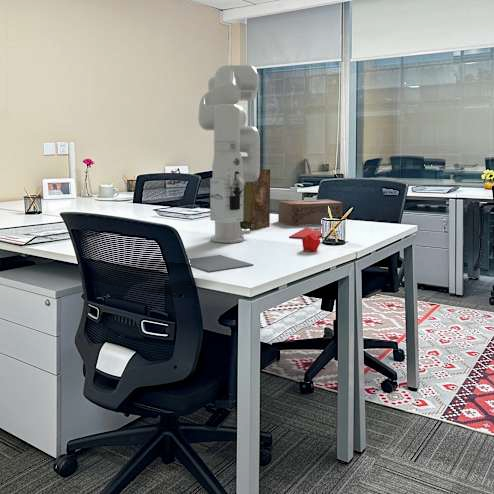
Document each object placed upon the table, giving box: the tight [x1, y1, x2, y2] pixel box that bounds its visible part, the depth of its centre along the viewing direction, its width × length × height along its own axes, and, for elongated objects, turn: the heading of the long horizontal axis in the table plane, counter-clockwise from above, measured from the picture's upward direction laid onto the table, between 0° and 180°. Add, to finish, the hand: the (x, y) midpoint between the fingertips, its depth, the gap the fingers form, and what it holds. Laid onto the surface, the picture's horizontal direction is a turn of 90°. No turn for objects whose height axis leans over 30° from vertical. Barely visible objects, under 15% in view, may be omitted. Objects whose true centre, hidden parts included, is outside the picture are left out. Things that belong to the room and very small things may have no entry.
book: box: [240, 168, 271, 231], centre depth 249 cm, size 16×6×25 cm, turn 146°
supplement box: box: [209, 177, 244, 223], centre depth 170 cm, size 7×7×13 cm
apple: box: [301, 233, 322, 253], centre depth 199 cm, size 7×7×8 cm
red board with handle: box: [288, 226, 323, 240], centre depth 236 cm, size 30×3×15 cm
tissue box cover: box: [277, 199, 344, 227], centre depth 268 cm, size 26×14×10 cm, turn 110°
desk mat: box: [188, 254, 254, 273], centre depth 177 cm, size 16×18×1 cm
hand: (226, 208), depth 171 cm, fingers closed on supplement box, 7 cm apart
